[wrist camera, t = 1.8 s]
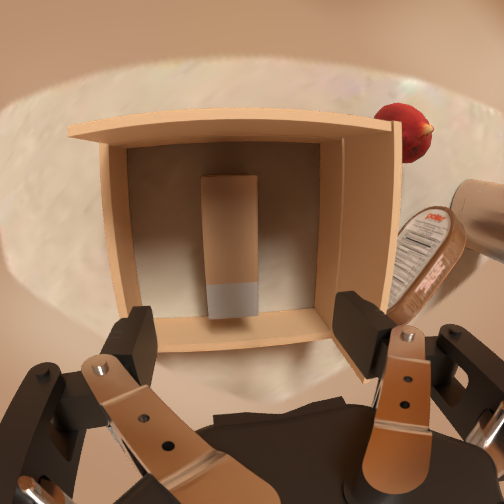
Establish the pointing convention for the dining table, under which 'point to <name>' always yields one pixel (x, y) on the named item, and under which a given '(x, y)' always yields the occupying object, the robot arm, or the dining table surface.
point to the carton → (330, 214)
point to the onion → (409, 129)
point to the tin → (423, 260)
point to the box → (230, 244)
